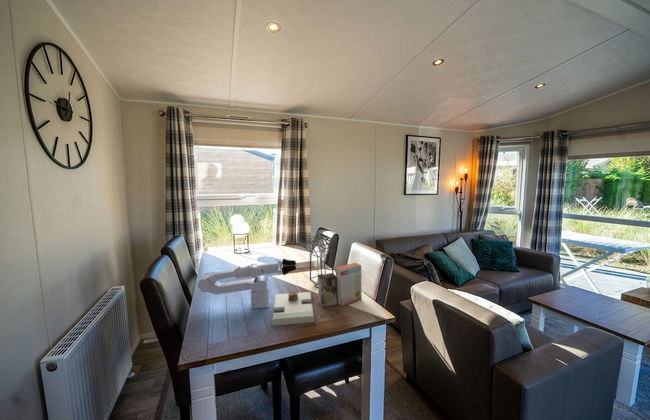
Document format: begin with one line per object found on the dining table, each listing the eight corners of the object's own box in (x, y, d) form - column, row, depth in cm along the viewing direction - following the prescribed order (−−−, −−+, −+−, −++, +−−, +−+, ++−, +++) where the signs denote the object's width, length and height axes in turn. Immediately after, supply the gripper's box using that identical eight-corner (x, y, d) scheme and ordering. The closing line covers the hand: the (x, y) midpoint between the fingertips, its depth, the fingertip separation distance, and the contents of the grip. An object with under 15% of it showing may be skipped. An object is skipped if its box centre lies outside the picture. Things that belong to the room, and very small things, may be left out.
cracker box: (355, 296, 144) (355, 262, 141) (361, 300, 138) (362, 265, 136) (335, 302, 137) (335, 266, 134) (341, 307, 132) (341, 270, 129)
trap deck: (272, 325, 116) (271, 319, 115) (276, 297, 143) (275, 292, 143) (314, 322, 118) (314, 315, 118) (310, 295, 146) (310, 290, 145)
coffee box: (333, 299, 140) (333, 272, 138) (337, 304, 134) (337, 276, 132) (318, 301, 138) (317, 274, 136) (321, 307, 132) (320, 278, 130)
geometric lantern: (320, 293, 147) (317, 237, 143) (305, 285, 159) (302, 233, 155) (339, 286, 157) (337, 232, 153) (324, 279, 169) (322, 229, 165)
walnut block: (288, 301, 135) (288, 295, 134) (288, 297, 140) (288, 291, 139) (297, 300, 135) (297, 294, 135) (297, 296, 140) (297, 290, 140)
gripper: (268, 266, 126) (295, 262, 127) (271, 257, 140) (294, 254, 142) (270, 279, 127) (296, 275, 128) (272, 268, 141) (296, 265, 143)
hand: (295, 264), depth 135 cm, fingers open, 7 cm apart
